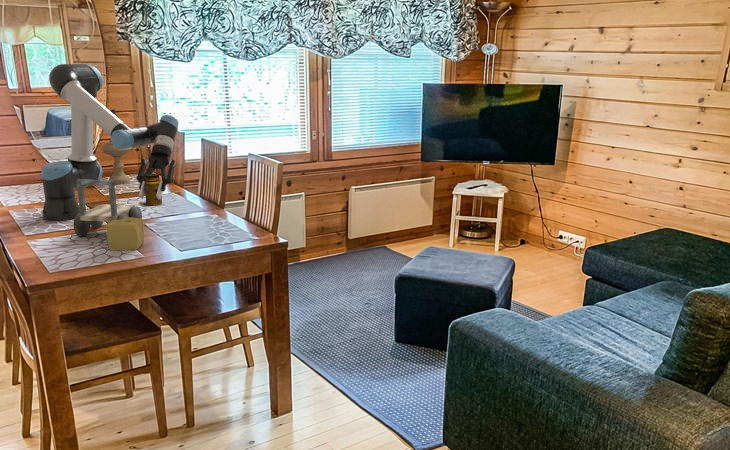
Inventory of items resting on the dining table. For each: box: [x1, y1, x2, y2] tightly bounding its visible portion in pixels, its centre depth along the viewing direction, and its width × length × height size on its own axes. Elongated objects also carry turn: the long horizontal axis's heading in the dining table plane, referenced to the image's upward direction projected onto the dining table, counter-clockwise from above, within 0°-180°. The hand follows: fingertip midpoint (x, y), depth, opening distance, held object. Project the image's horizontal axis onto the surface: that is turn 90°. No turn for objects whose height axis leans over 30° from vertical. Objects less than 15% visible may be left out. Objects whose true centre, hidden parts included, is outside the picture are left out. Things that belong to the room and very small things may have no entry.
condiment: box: [138, 173, 165, 208], centre depth 225 cm, size 7×8×12 cm
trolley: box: [73, 179, 143, 237], centre depth 228 cm, size 18×21×23 cm
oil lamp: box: [101, 109, 132, 185], centre depth 314 cm, size 15×15×40 cm
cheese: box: [105, 217, 145, 251], centre depth 213 cm, size 10×11×10 cm
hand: (149, 197), depth 222 cm, fingers closed on condiment, 6 cm apart
